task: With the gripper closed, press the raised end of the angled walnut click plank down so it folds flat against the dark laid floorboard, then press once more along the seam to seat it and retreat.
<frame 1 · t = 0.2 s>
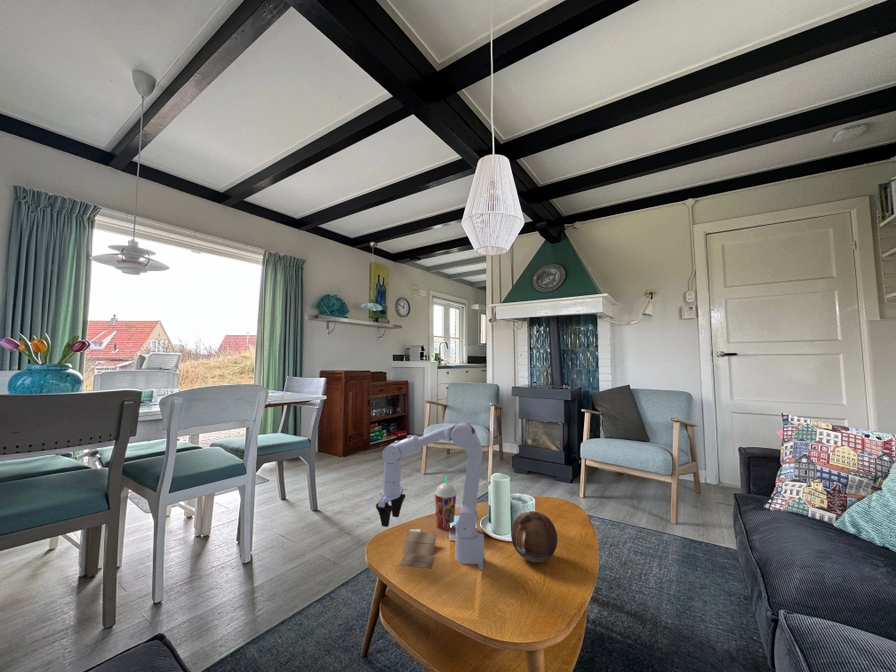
hand: (390, 521, 120), 10 cm above the table, fingers open, 7 cm apart
light grey block: (415, 536, 131), on the table
click plank: (419, 543, 120), point 3 cm above the table, hinge at 28.0°
laid board: (417, 565, 112), on the table
wooden sphere: (533, 559, 117), on the table
smoothie: (444, 529, 136), on the table
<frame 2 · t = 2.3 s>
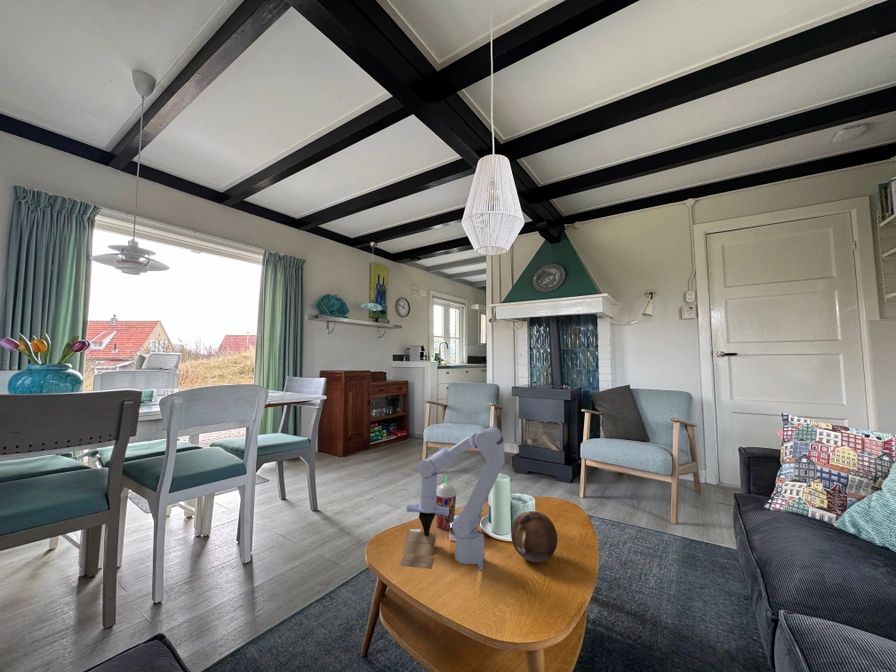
hand: (426, 534, 122), 5 cm above the table, fingers closed, pressing on click plank
click plank: (419, 543, 120), point 3 cm above the table, hinge at 28.0°, touching gripper
everything else where it was.
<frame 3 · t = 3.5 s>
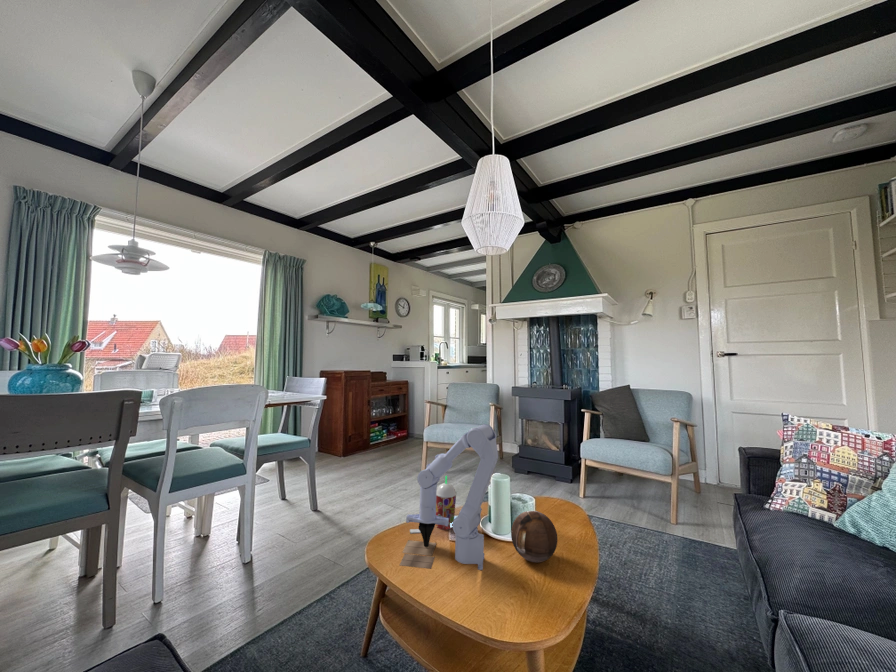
hand: (426, 545, 121), 2 cm above the table, fingers closed, pressing on click plank
click plank: (419, 549, 120), point 1 cm above the table, hinge at 1.3°, touching gripper
everything else where it was.
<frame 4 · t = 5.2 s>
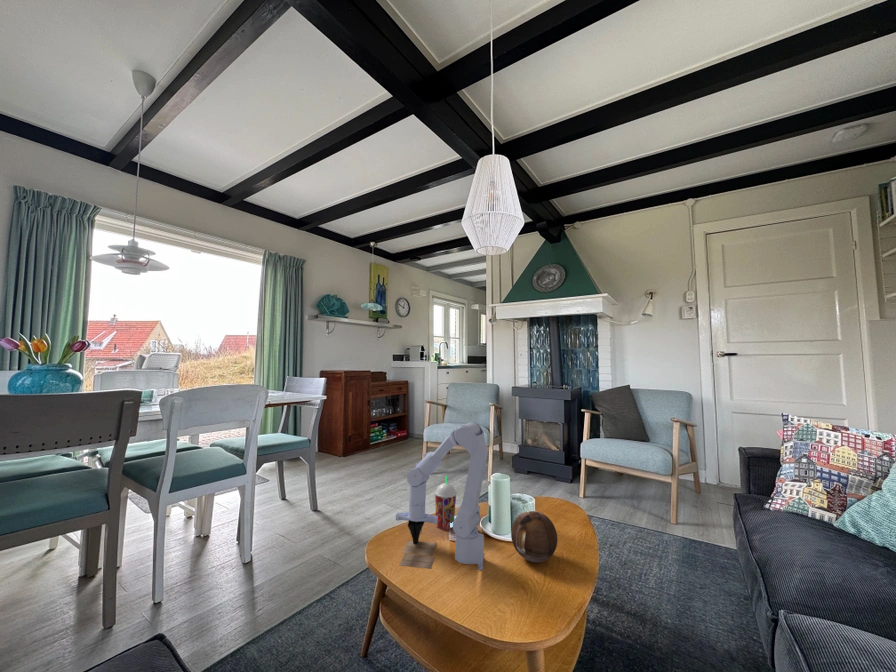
hand: (415, 542, 123), 1 cm above the table, fingers closed, pressing on click plank
click plank: (419, 549, 120), point 1 cm above the table, hinge at 1.1°, touching gripper
everything else where it was.
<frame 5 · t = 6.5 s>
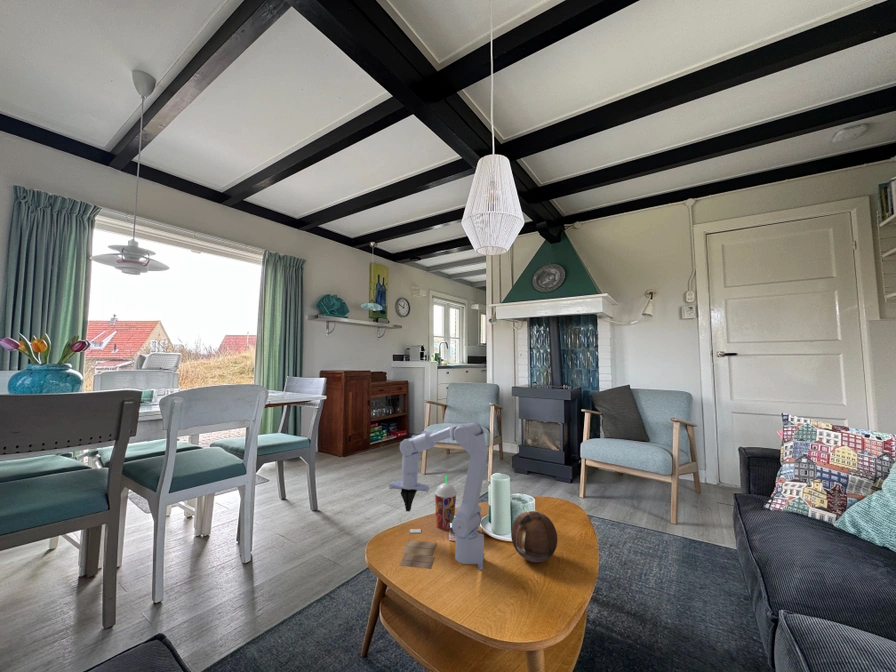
hand: (408, 510, 128), 10 cm above the table, fingers closed
click plank: (419, 549, 120), point 1 cm above the table, hinge at 1.1°
everything else where it was.
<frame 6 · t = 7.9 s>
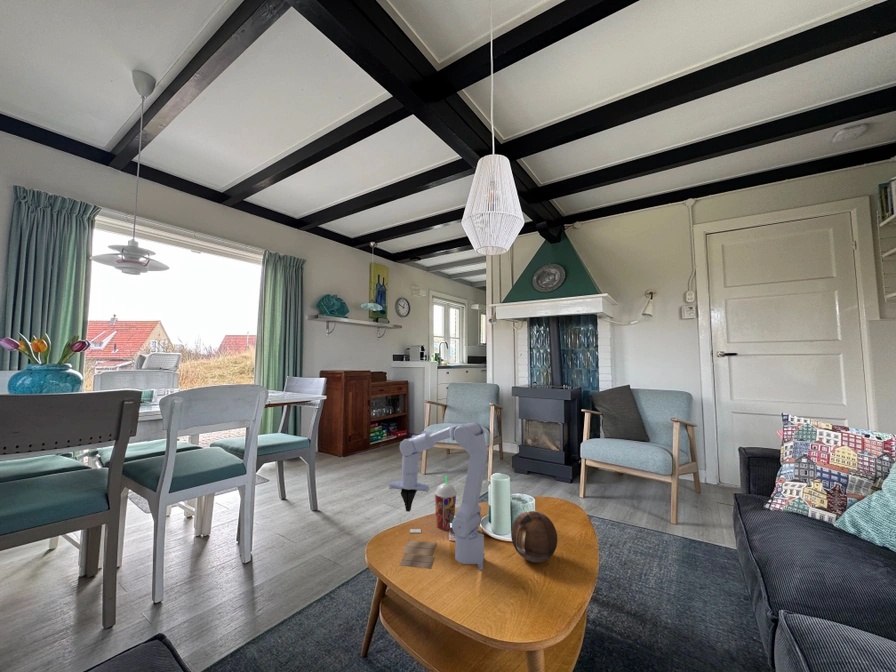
hand: (408, 510, 128), 10 cm above the table, fingers closed
nothing on the table moved.
at the end: click plank at +1° (first picture: +28°) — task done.
